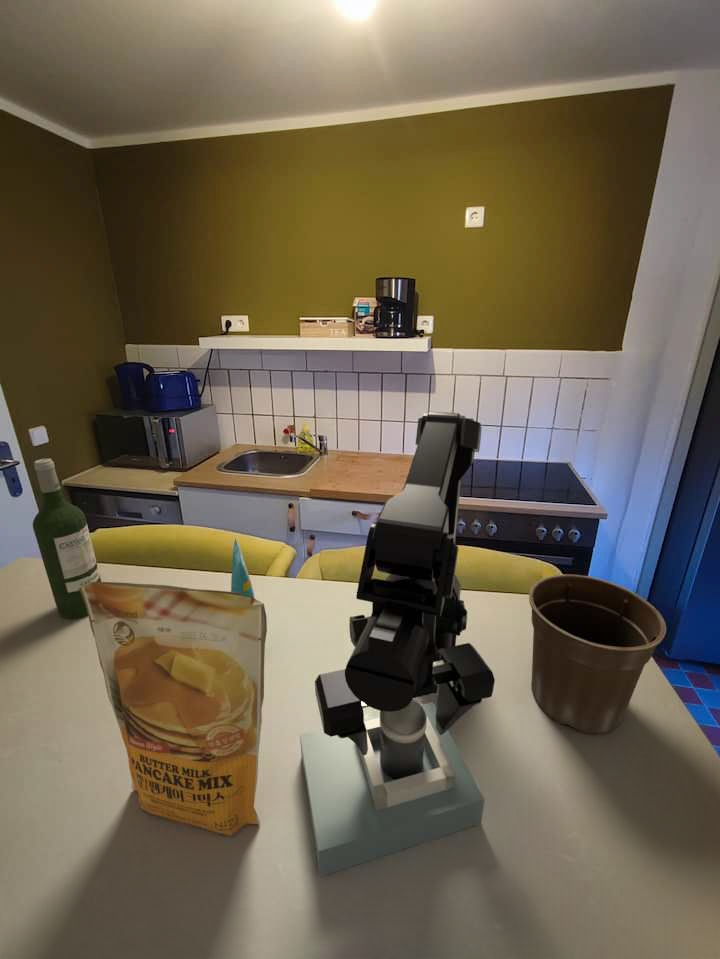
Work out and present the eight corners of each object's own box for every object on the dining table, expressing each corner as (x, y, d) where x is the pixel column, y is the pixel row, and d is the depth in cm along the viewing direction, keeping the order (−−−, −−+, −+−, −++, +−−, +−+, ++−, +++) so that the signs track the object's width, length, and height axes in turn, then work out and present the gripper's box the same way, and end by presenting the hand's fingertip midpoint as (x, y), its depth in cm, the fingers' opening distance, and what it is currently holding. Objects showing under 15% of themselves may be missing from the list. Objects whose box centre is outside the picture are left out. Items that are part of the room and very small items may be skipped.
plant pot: (493, 674, 67) (504, 586, 62) (570, 646, 73) (587, 564, 67) (577, 767, 53) (602, 665, 48) (665, 724, 59) (696, 628, 53)
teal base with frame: (431, 724, 59) (434, 690, 57) (480, 823, 47) (486, 786, 45) (301, 757, 54) (299, 722, 52) (319, 877, 43) (317, 838, 41)
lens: (413, 734, 53) (415, 691, 51) (431, 775, 48) (434, 729, 46) (373, 745, 52) (373, 701, 49) (387, 788, 47) (388, 741, 45)
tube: (267, 655, 71) (258, 554, 65) (237, 665, 69) (225, 562, 62) (255, 628, 77) (246, 534, 71) (228, 636, 75) (216, 540, 69)
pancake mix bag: (148, 752, 55) (103, 564, 46) (286, 788, 51) (268, 588, 41) (108, 806, 49) (45, 602, 39) (261, 852, 45) (233, 634, 35)
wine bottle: (90, 619, 80) (49, 468, 70) (48, 619, 80) (2, 468, 70) (113, 594, 87) (80, 454, 77) (75, 594, 88) (37, 454, 77)
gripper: (453, 574, 53) (445, 672, 59) (303, 598, 49) (310, 703, 54) (504, 632, 43) (489, 744, 48) (322, 671, 38) (327, 790, 44)
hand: (402, 741), depth 49 cm, fingers open, 9 cm apart
